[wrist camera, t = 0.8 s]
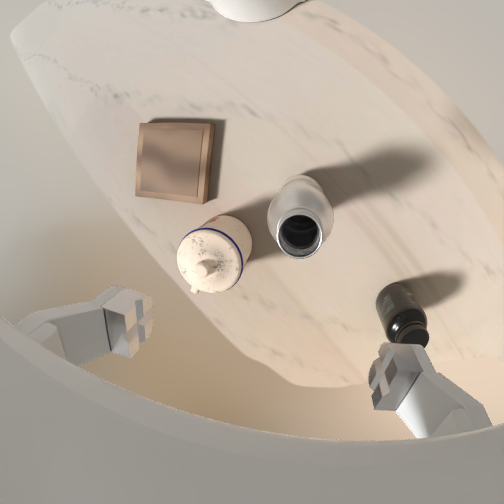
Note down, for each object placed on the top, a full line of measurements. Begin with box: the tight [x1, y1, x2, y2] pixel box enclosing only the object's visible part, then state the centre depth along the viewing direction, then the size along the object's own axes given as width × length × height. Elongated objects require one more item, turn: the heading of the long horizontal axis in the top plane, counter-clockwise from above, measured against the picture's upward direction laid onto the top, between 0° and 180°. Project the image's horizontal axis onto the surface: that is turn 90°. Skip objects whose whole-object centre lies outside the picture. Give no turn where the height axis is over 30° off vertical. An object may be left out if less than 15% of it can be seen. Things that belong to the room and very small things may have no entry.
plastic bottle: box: [267, 175, 334, 259], centre depth 30 cm, size 6×7×20 cm
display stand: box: [135, 123, 215, 204], centre depth 40 cm, size 12×12×2 cm
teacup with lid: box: [177, 215, 252, 294], centre depth 39 cm, size 12×9×12 cm
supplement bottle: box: [376, 283, 429, 348], centre depth 37 cm, size 7×7×12 cm
